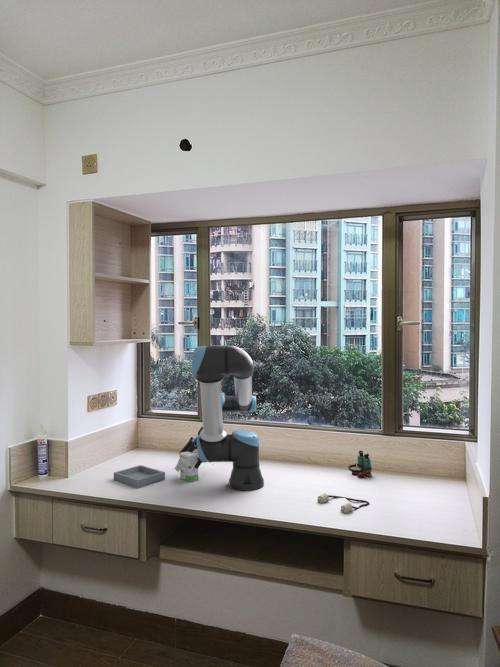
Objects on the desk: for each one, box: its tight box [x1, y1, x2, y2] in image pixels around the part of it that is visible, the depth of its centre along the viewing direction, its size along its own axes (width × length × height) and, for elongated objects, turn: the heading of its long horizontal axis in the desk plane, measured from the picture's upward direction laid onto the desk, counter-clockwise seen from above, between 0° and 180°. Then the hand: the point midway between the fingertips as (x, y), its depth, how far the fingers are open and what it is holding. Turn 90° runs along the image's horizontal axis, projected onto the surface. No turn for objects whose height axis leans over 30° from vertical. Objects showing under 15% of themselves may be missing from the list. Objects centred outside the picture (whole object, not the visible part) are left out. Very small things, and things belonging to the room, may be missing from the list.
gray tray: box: [113, 464, 166, 489], centre depth 238 cm, size 18×15×4 cm
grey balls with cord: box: [317, 492, 370, 514], centre depth 204 cm, size 16×16×4 cm
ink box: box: [179, 452, 200, 483], centre depth 237 cm, size 9×5×12 cm, turn 40°
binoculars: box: [347, 450, 373, 479], centre depth 238 cm, size 9×11×10 cm
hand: (183, 472), depth 235 cm, fingers closed on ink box, 9 cm apart
